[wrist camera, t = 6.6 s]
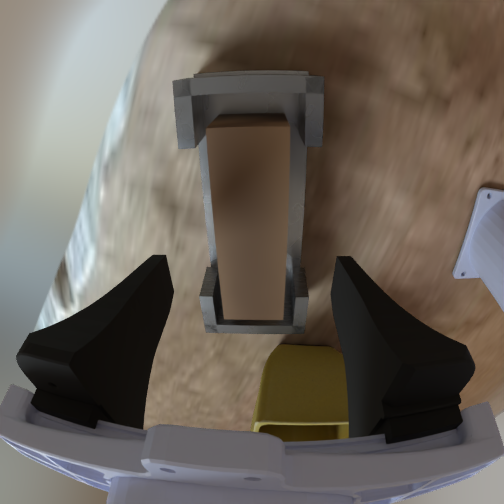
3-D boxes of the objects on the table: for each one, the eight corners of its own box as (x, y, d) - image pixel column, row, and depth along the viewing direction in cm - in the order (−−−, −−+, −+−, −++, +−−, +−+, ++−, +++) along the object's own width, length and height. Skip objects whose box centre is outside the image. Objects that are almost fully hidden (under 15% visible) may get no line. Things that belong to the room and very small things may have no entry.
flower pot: (259, 325, 25) (255, 423, 18) (358, 331, 26) (378, 421, 18) (249, 381, 30) (245, 460, 23) (331, 384, 30) (340, 459, 23)
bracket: (311, 71, 15) (324, 72, 11) (299, 298, 23) (303, 335, 20) (191, 74, 15) (172, 76, 12) (213, 297, 24) (206, 334, 21)
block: (284, 113, 15) (290, 126, 12) (281, 277, 21) (283, 319, 18) (218, 114, 15) (205, 128, 12) (230, 277, 22) (224, 319, 18)
